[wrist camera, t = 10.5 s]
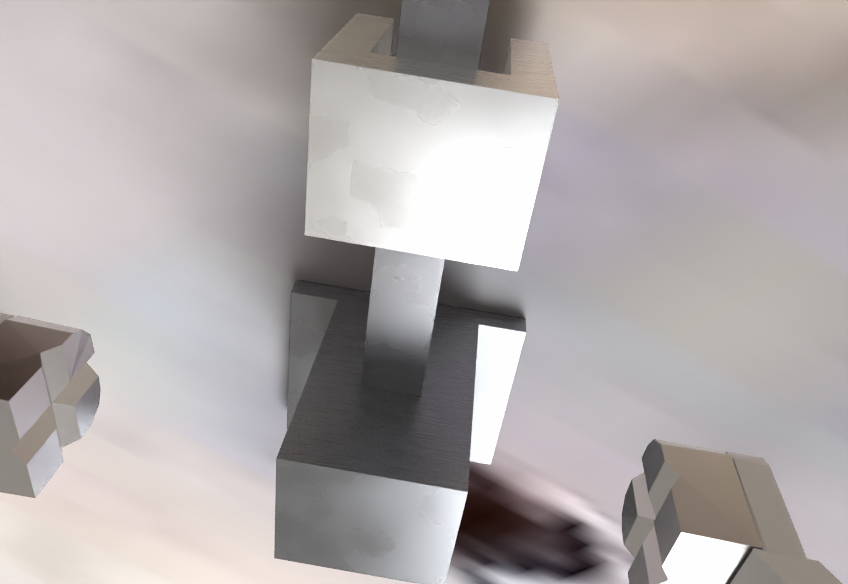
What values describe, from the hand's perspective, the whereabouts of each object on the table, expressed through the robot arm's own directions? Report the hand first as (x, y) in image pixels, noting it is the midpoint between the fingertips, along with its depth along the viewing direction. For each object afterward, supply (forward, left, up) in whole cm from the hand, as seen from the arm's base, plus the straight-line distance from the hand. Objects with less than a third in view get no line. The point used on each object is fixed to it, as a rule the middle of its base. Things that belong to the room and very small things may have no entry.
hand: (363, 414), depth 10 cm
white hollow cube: (0, 0, -16) cm, 16 cm away
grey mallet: (0, +6, -17) cm, 18 cm away
